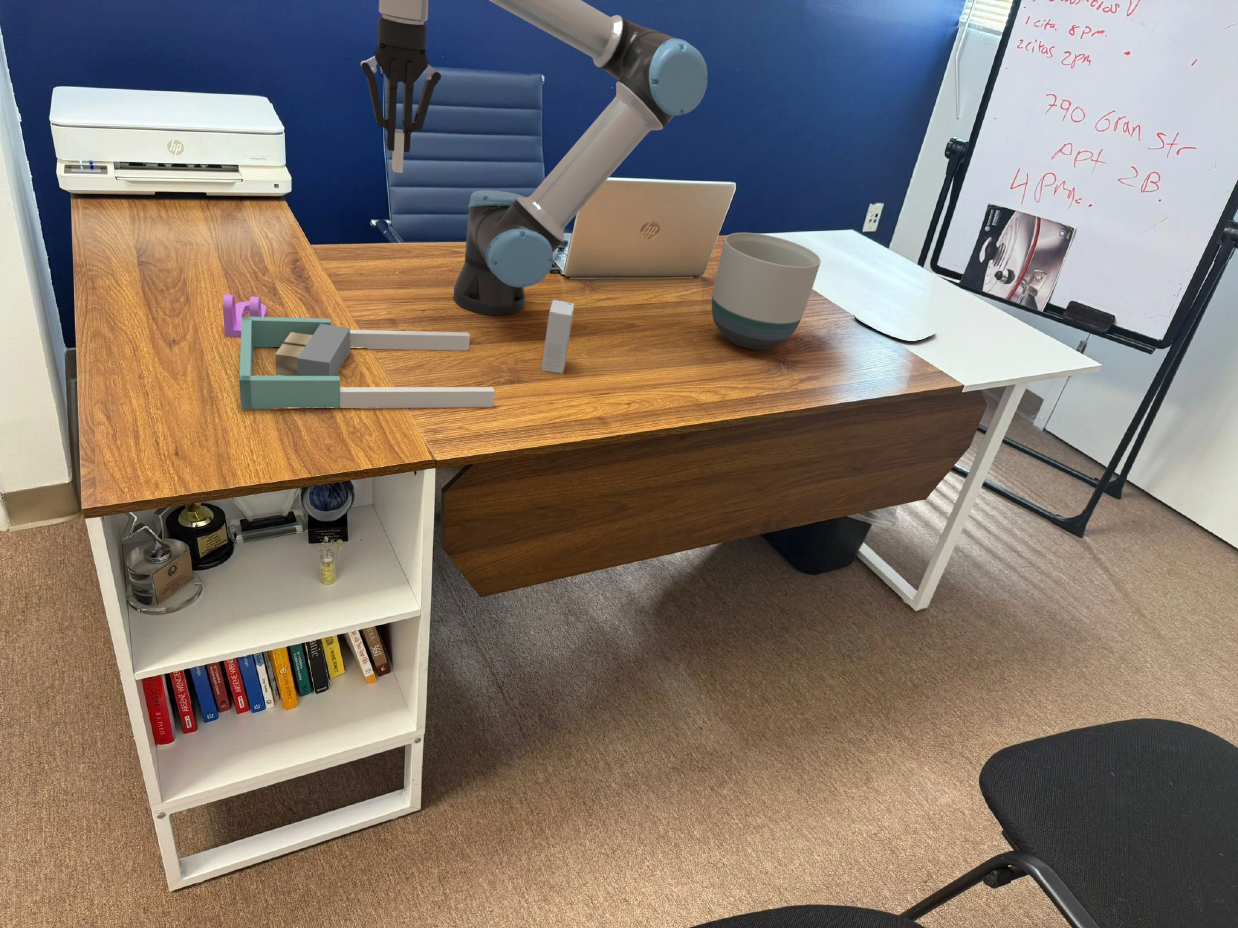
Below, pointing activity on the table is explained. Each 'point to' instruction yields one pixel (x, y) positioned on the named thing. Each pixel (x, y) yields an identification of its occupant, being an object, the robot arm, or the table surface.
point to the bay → (281, 388)
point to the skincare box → (557, 336)
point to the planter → (761, 289)
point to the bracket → (240, 313)
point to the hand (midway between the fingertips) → (397, 170)
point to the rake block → (324, 351)
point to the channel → (413, 395)
